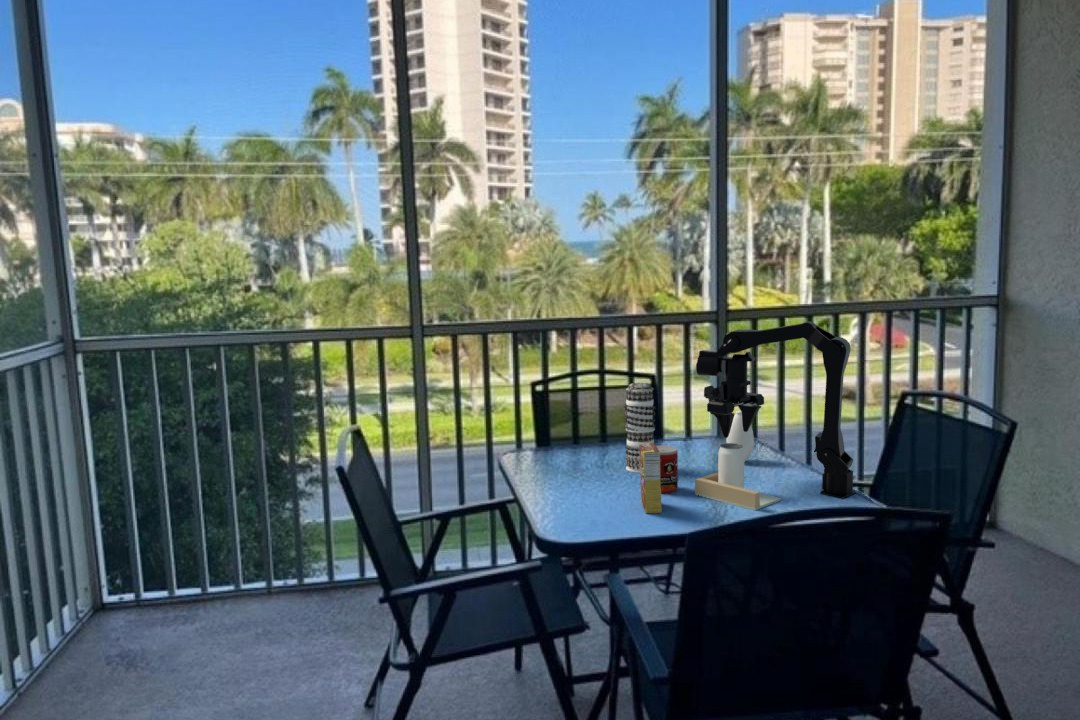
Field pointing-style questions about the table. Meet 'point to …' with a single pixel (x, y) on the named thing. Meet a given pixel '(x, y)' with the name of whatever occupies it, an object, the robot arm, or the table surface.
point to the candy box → (650, 478)
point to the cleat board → (731, 493)
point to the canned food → (668, 468)
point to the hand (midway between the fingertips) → (735, 434)
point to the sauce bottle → (741, 435)
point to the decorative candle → (638, 422)
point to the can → (731, 464)
